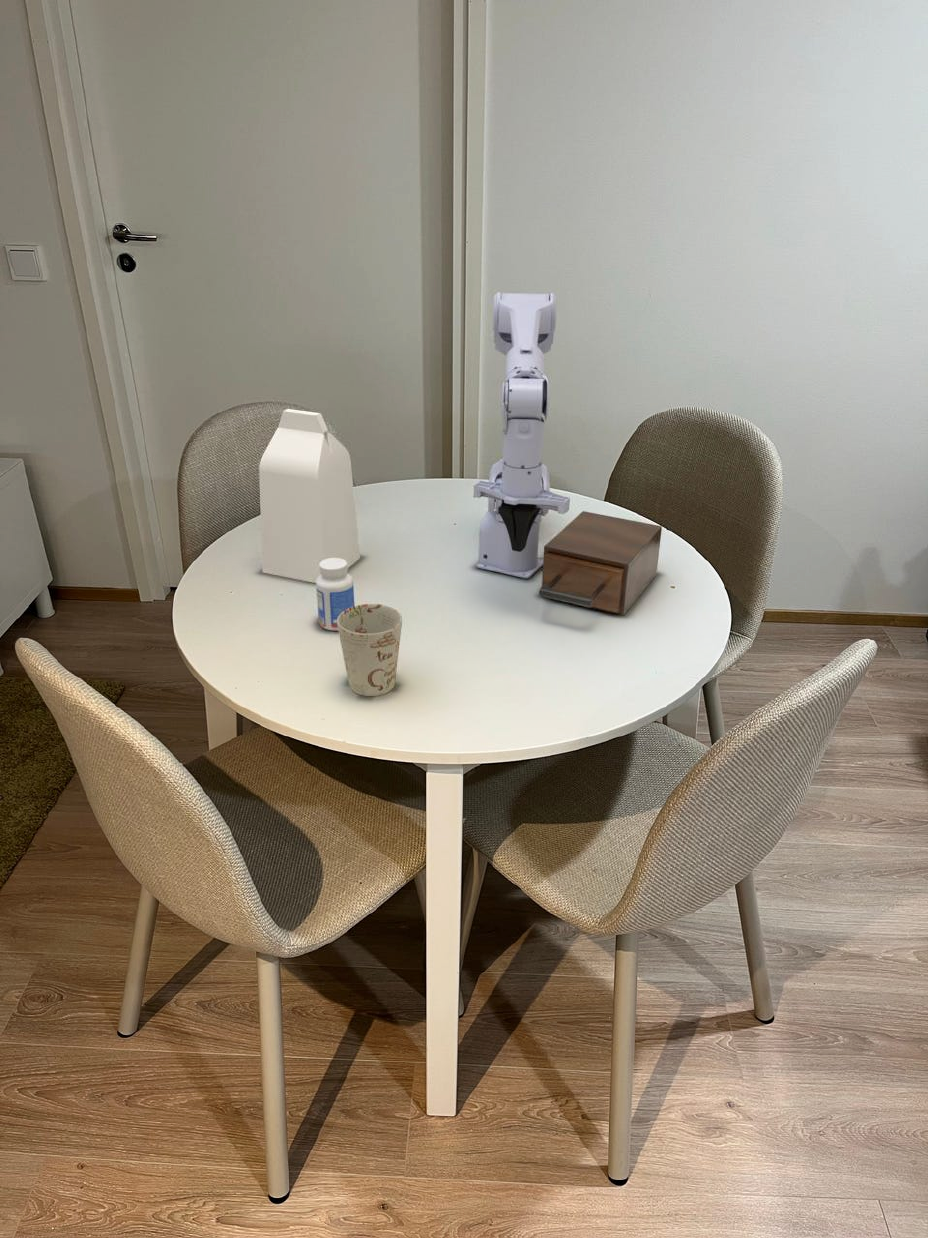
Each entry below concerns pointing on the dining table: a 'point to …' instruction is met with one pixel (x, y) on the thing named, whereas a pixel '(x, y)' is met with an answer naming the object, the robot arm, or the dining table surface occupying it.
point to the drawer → (582, 582)
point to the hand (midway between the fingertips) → (518, 548)
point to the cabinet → (612, 549)
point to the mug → (370, 647)
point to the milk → (306, 499)
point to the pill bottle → (333, 591)
